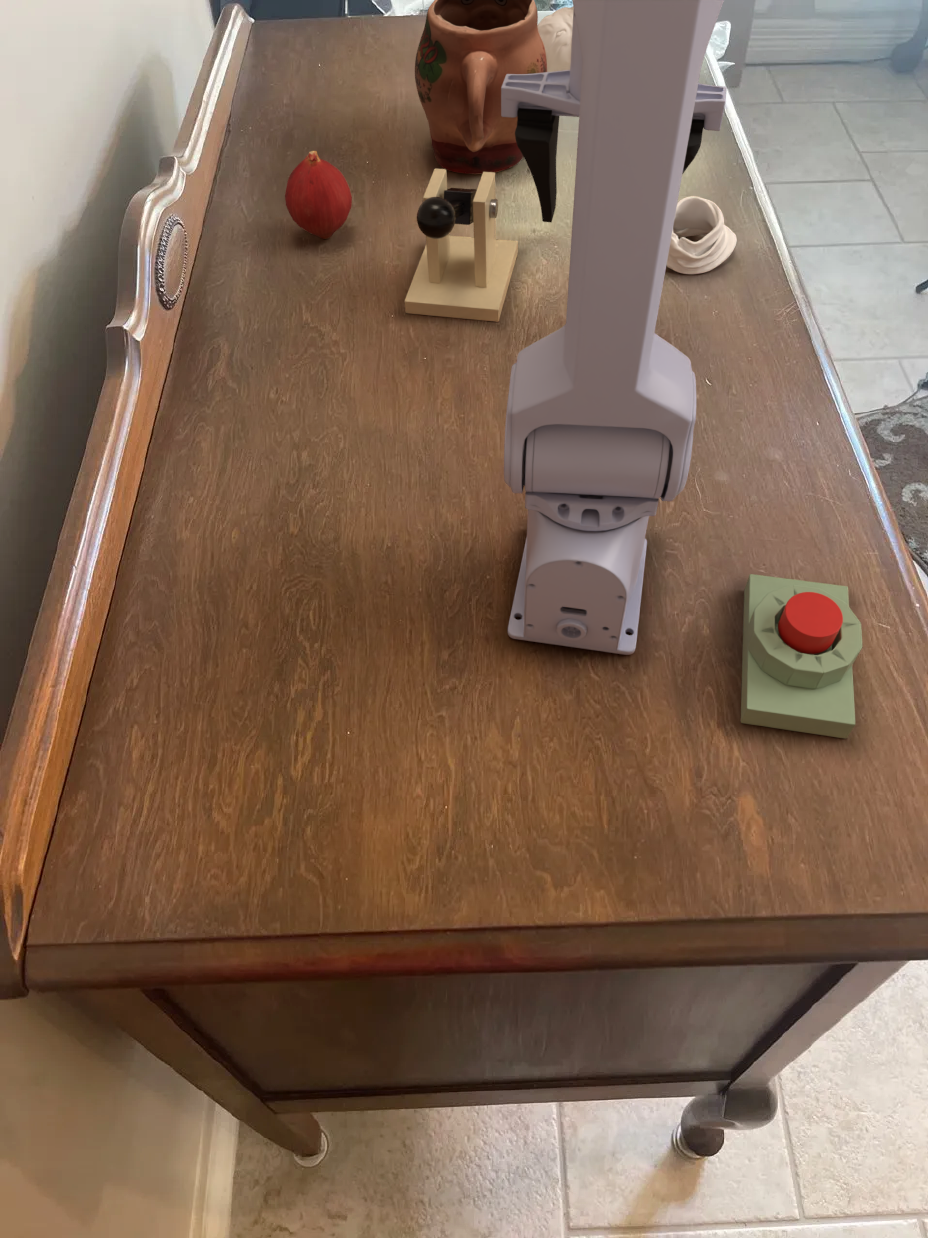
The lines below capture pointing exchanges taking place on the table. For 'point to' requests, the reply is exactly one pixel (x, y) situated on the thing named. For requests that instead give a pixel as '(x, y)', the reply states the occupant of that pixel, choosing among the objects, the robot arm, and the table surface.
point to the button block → (796, 663)
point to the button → (810, 622)
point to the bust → (557, 38)
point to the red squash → (318, 196)
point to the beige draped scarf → (699, 220)
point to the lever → (446, 212)
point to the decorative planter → (475, 78)
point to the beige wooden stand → (464, 263)
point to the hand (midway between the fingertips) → (600, 218)
